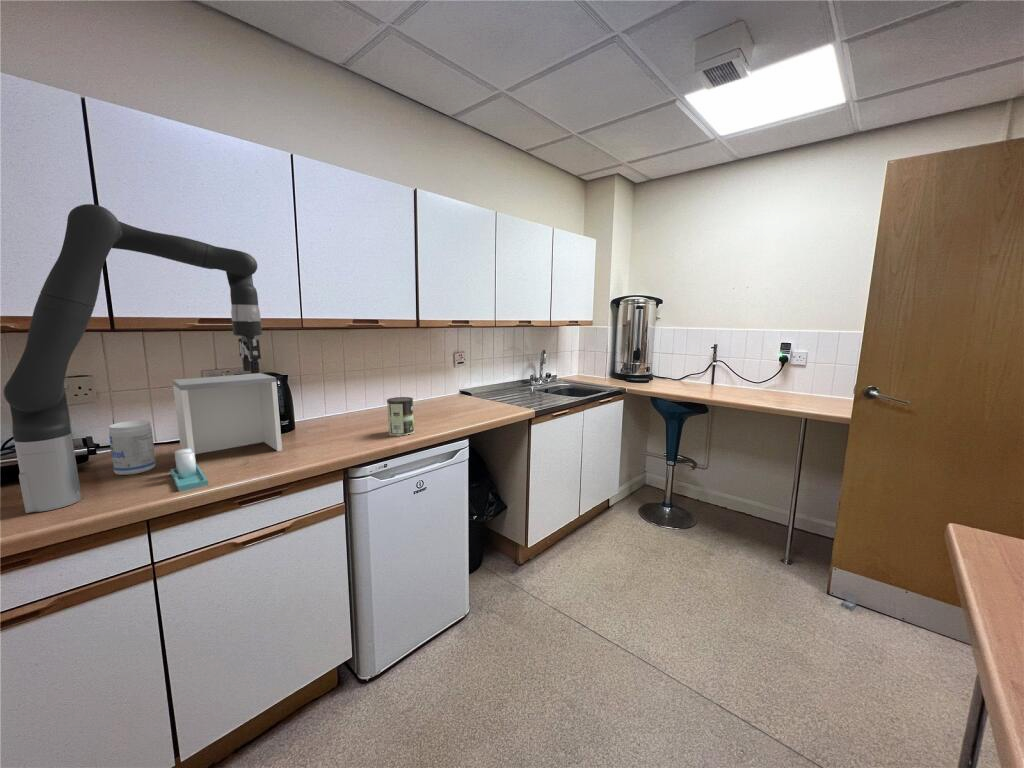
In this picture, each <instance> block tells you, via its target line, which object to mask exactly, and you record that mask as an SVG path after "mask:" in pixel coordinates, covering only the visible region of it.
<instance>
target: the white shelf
mask: <svg viewBox="0 0 1024 768" xmlns="http://www.w3.org/2000/svg"><path fill="white" fill-rule="evenodd" d="M277 383H278V382H277V376H276V377H275V376H272V375H269V374H265V373H262V372H259V373H245V374H244V373H243V374H234V375H232V374H231V375H230V374H229V375H221V376H220V375H219V376H207V377H195V378H194V377H193V378H182V379H181V378H180V379H172V388H173V395H174V396H173V397H174V406H175V412H176V420H177V428H178V430H177V431H178V435H179V438H178V439H179V444H180V445H179V446H180V449H192V452H194V456H195V457H196V455H199V454H205V453H210V452H214V451H215V452H216V451H220V450H221V451H222V450H227V449H231V448H232V449H233V448H237V447H243V446H244V447H245V446H250V445H254V444H260V443H265V444H266V445H268V446H269V447H271V448H272V449H274V450H276V451H277V452H280V451H283V442H282V433H281V432H282V431H281V430H282V429H281V420H280V410H279V409H280V407H279V406H280V405H279V396H278V385H277ZM249 444H250V445H249ZM195 464H196V465H197V460H196V458H195Z"/></svg>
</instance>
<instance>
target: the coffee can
mask: <svg viewBox="0 0 1024 768" xmlns="http://www.w3.org/2000/svg"><path fill="white" fill-rule="evenodd" d="M386 402H387V404H386V405H387V419H388V420H387V421H388V422H387V423H388V435H389V436H393V437H394V436H396V437H402V435H405V436H409V435H408V434H410V435H413V434H414V433H415V424H414V423H415V422H414V421H415V420H414V398H413V397H409V396H398V397H395V396H394V397H391V398H387V399H386ZM412 433H413V434H412Z"/></svg>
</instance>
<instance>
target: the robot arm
mask: <svg viewBox="0 0 1024 768" xmlns="http://www.w3.org/2000/svg"><path fill="white" fill-rule="evenodd" d="M112 249H115V250H116V249H117V250H124V251H131V252H137V253H141V254H147V255H151V256H155V257H159V258H163V259H167V260H171V261H174V262H178V263H182V264H187V265H191V266H194V267H197V268H203V269H208V270H219V271H222V272H225V273H226V278H227V281H228V286H229V291H230V294H229V295H230V303H231V310H230V313H231V314H230V315H231V324H232V325H231V327H232V334H233V336H236V337H237V336H238V337H239V336H241V338H238V340H237V342H238V349H239V350H238V352H239V358H240V359H241V360H242V368H243V370H242V371H244V372H250V374H257V373H260V363H259V361H260V360H261V358H262V356H261V349H260V348H261V347H260V340H259V338H258V339H256V336H261V335H262V333H263V332H262V330H263V329H262V320H261V311H260V307H259V297H258V291H257V288H256V287H255V285H254V280H253V275H254V274H256V272H257V270H258V263H257V260H256V259H255V258H254V256H252V255H251V254H249V253H247V252H245V251H242V250H237V249H232V248H227V247H221V246H216V245H212V244H209V243H206V242H203V241H199V240H195V239H192V238H188V237H183V236H179V235H173V234H167V233H161V232H155V231H151V230H147V229H143V228H139V227H137V226H133V225H130V224H128V223H126V222H122V221H119V220H118V218H117V216H115V215H114V213H112V212H111V211H110V210H109V209H108V208H105V207H103V206H101V205H98V204H95V203H93V204H92V203H86V204H80V205H77V206H76V207H74V208H72V209H71V210H70V212H69V213H68V215H67V223H66V228H65V234H64V237H63V244H62V246H61V250H60V252H59V256H58V258H57V259H56V261H55V263H54V264H53V266H52V268H51V269H50V270H49V271H50V272H49V273H48V275H47V277H46V279H45V282H44V283H43V285H42V288H41V290H40V292H39V295H38V298H37V300H36V303H35V306H34V309H33V313H32V316H31V319H30V323H29V327H28V328H29V329H28V332H27V339H26V344H25V347H24V351H23V352H22V355H21V358H20V359H19V361H18V363H17V364H16V367H15V369H14V371H13V372H12V374H11V376H10V378H9V379H8V381H7V382H6V384H5V385H4V387H3V397H4V398H5V400H6V402H7V403H8V404H9V408H10V413H11V421H12V423H11V424H12V430H11V431H12V437H13V441H14V446H15V448H14V449H15V452H16V457H17V462H18V463H17V464H18V468H19V469H18V470H19V474H18V479H19V485H20V486H19V487H20V489H21V490H20V491H21V496H22V500H23V501H22V502H23V506H24V512H25V514H30V513H37V512H46V511H47V512H48V511H52V510H57V509H60V508H64V507H67V506H70V505H73V504H75V503H78V502H79V501H81V500H82V490H81V487H80V479H79V474H78V467H77V466H78V465H77V462H76V461H77V460H76V455H75V449H74V443H73V436H72V430H71V422H70V414H69V407H68V401H67V400H68V399H67V393H66V388H65V379H66V375H67V371H68V366H69V363H70V360H71V357H72V355H73V353H74V351H75V349H76V348H77V347H78V345H79V343H80V341H81V340H82V337H83V336H84V333H85V332H86V329H87V328H88V325H89V323H90V320H91V318H92V314H93V312H94V309H95V307H96V302H97V299H98V294H99V290H100V282H101V277H102V271H103V267H104V264H105V263H106V259H107V258H108V257H109V256H108V255H109V253H110V251H111V250H112Z"/></svg>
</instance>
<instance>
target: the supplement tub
mask: <svg viewBox="0 0 1024 768" xmlns="http://www.w3.org/2000/svg"><path fill="white" fill-rule="evenodd" d="M108 429H109V430H108V436H109V437H108V438H109V443H110V444H109V446H110V452H111V459H112V460H111V461H112V468H113V472H114V473H115V474H116V475H119V476H124V475H125V476H126V475H127V476H128V475H137V474H140V473H141V474H142V473H145V472H148V471H151V470H153V469H154V468H155V467H156V454H155V448H154V447H155V446H154V445H155V444H154V439H153V437H154V436H153V429H152V425H151V421H149V420H128V421H122V422H117V423H113V424H110V425H109V426H108Z"/></svg>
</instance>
